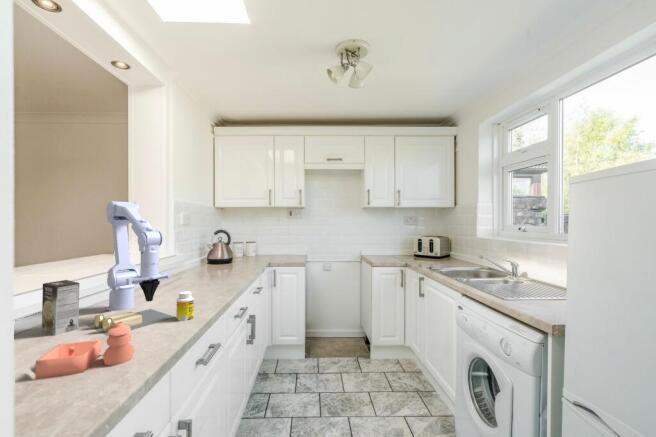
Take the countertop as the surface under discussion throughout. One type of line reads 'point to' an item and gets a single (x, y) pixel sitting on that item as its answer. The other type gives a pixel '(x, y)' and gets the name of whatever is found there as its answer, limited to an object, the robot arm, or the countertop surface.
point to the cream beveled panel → (126, 319)
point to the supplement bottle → (185, 306)
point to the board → (144, 319)
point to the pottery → (86, 354)
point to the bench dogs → (102, 323)
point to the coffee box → (60, 307)
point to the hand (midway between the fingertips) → (149, 300)
